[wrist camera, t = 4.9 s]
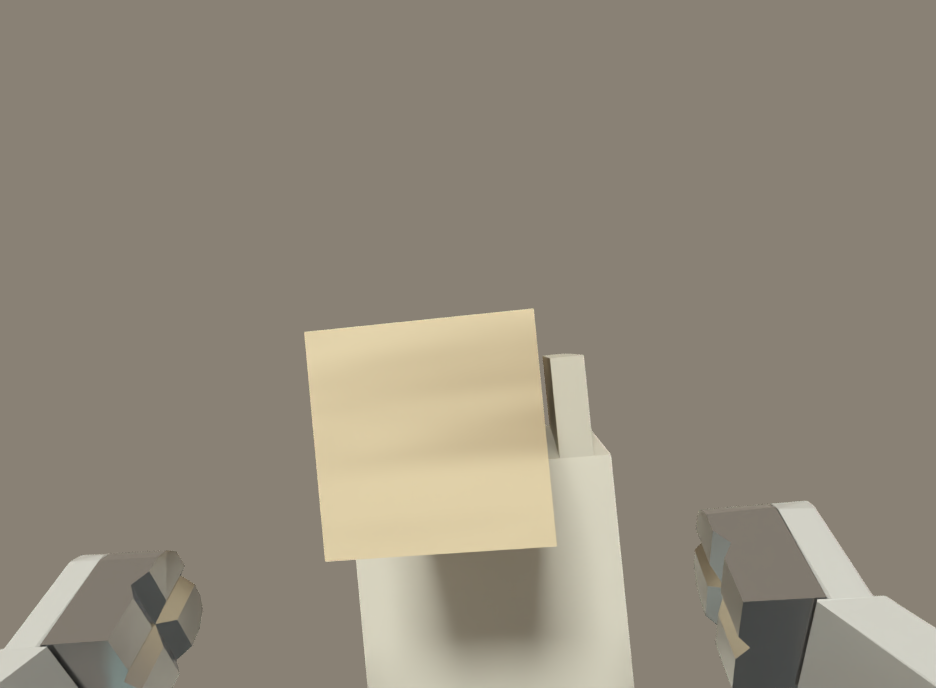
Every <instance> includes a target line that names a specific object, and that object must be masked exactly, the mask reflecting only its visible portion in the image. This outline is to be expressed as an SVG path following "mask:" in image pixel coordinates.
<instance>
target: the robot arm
mask: <svg viewBox="0 0 936 688" xmlns="http://www.w3.org/2000/svg"><path fill="white" fill-rule="evenodd" d="M696 530H697V533H698V535H699V538H700V540H701V544H700V545H699V546H698V547H697V548H696V549H695V553H694V555H695V556H694V569H695V577H696V584H697V589H698V593H699V596H700V600H701V603H702V606H703V609H704V612H705V615H706V616H707V617H708V618H709V619H710V620H712V621H713V622H714V623H715V624H717V633H716V647H717V649H718V652H719V655H720V658H721V660H722V663H723V666H724V669H725V671H726V674H727V677H728V680H729V683H730V685H731V688H936V628H935V627H934V626H932V625H931V624H929V623H927V622H926V621H924V620H923V619H921V618H919V617H918V616H916V615H915V614H913V613H912V612H910V611H908V610H907V609H905V608H904V607H902V606H901V605H899V604H897V603H896V602H894V601H893V600H891V599H890V598H888V597H886V596H873V595H872V593H871V592H870V590H869V589H868V588H867V586H866V584H865V583H864V581H863V580H862V578H861V577H860V575H859V574H858V572H857V570H856V569H855V568H854V566H853V564H852V563H851V561H850V560H849V558H848V557H847V556H846V554H845V552H844V551H843V549H842V548H841V546H840V545H839V543H838V542H837V540H836V538H835V537H834V536H833V534H832V532H831V531H830V529H829V528H828V526H827V525H826V523H825V522H824V520H823V519H822V517H821V516H820V514H819V512H818V511H817V509H816V508H815V506H814V505H812V504H811V503H809V502H808V501H798V502H787V503H774V504H770V505H768V504H761V505H749V506H738V507H726V508H714V509H703V510H699V513H698V515H697V523H696ZM184 567H185V565H184V563H183V562H182V560H181V558H180V557H179V555H178V554H177V552H176V551H147V552H128V553H110V554H95V555H81V556H79V557H78V558H76V559H74V560H73V561H71V562H69V564H68V565H67V567H66V568H65V569H64V570H63V572H62V573H61V574H60V576H59V577H58V578H57V580H56V581H55V582H54V584H53V585H52V586H51V588H50V589H49V590H48V592H47V593H46V594H45V596H44V597H43V598H42V600H41V601H40V602H39V604H38V605H37V606H36V608H35V609H34V610H33V612H32V613H31V614H30V615H29V617H28V618H27V619H26V621H25V622H24V623H23V625H22V626H21V627H20V629H19V630H18V631H17V633H16V634H15V635H14V637H13V638H12V639H11V641H10V642H9V643H8V645H7V646H6V647H5V648H4V649H0V688H173V686H174V684H175V681H176V680H177V678H178V675H179V669H178V665H177V659H178V658H179V657H180V656H181V655H183V654H184V653H185V652H186V651H187V650H188V649H189V648H190V647H191V646H192V645H193V643H194V640H195V638H196V636H197V633H198V631H199V629H200V623H201V616H202V603H201V597H200V594H199V592H198V590H197V588H196V586H195V584H193V583H191V582H190V581H188V580H187V579H185V578H184V577H182V576H181V574H182V571H183V569H184Z"/></svg>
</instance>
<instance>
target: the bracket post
mask: <svg viewBox="0 0 936 688" xmlns="http://www.w3.org/2000/svg"><path fill="white" fill-rule="evenodd" d="M543 364H544V374H545V384H546V394H547V404H548V415H549V424H550V425H547V426H545V429H546V439H547V449H548V459H549V470H550V480H551V490H552V500H553V510H554V520H555V530H556V541H557V546H556V547H541V548H525V549H510V550H495V551H480V552H464V553H449V554H434V555H418V556H403V557H388V558H373V559H357V560H356V565H357V576H358V587H359V598H360V609H361V619H362V630H363V641H364V652H365V662H366V673H367V683H368V688H634V680H633V670H632V660H631V650H630V641H629V630H628V620H627V610H626V600H625V590H624V581H623V570H622V560H621V551H620V541H619V531H618V521H617V511H616V501H615V491H614V481H613V471H612V461H611V454H610V453H609V452H608V450H607V449H606V448H605V447H604V445H603V444H602V443H601V442H600V441H599V439H598V438H597V437H596V436H595V434H594V433H593V432H592V431H591V424H590V413H589V403H588V394H587V383H586V373H585V364H584V355H576V354H557V355H547V356H543Z"/></svg>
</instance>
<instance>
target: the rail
mask: <svg viewBox="0 0 936 688" xmlns="http://www.w3.org/2000/svg"><path fill="white" fill-rule="evenodd" d="M304 334H305V345H306V356H307V367H308V377H309V389H310V400H311V411H312V421H313V432H314V442H315V443H314V444H315V454H316V466H317V476H318V487H319V497H320V498H319V499H320V509H321V520H322V531H323V542H324V553H325V561H326V562H327V561H341V560H357V559H373V558H388V557H403V556H418V555H434V554H449V553H464V552H480V551H495V550H510V549H525V548H541V547H556V546H557V541H556V530H555V520H554V510H553V500H552V490H551V480H550V470H549V459H548V449H547V439H546V429H545V419H544V409H543V399H542V388H541V378H540V368H539V358H538V348H537V338H536V328H535V317H534V309H524V310H514V311H504V312H495V313H485V314H476V315H466V316H456V317H446V318H436V319H426V320H418V321H407V322H397V323H387V324H378V325H369V326H359V327H349V328H339V329H329V330H320V331H311V332H304Z"/></svg>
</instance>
